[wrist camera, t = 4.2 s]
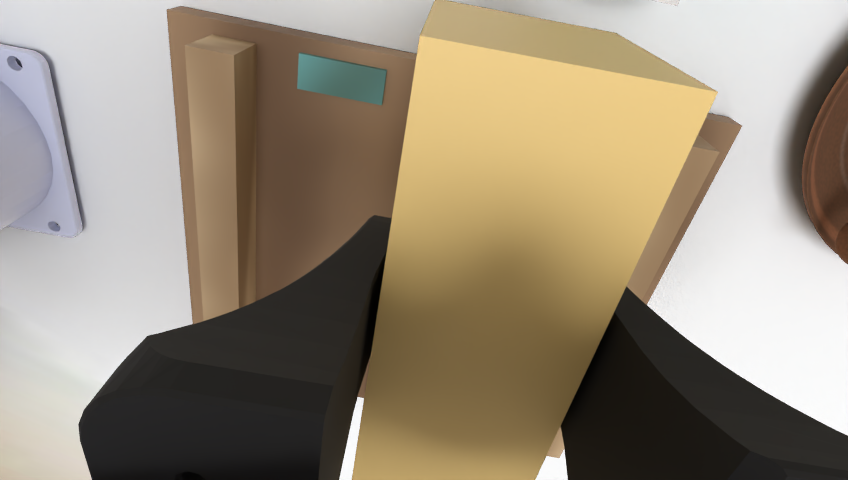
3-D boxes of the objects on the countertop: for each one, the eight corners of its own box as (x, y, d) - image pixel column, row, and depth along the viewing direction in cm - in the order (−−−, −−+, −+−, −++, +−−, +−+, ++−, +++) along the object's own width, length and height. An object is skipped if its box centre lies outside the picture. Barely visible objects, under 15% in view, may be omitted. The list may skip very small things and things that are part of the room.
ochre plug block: (375, 367, 16) (346, 516, 12) (435, -2, 11) (419, 35, 6) (493, 387, 17) (505, 541, 12) (616, 32, 11) (718, 91, 7)
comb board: (205, 354, 26) (177, 400, 24) (181, 6, 17) (133, 18, 15) (573, 418, 27) (585, 469, 24) (728, 117, 18) (772, 146, 16)
